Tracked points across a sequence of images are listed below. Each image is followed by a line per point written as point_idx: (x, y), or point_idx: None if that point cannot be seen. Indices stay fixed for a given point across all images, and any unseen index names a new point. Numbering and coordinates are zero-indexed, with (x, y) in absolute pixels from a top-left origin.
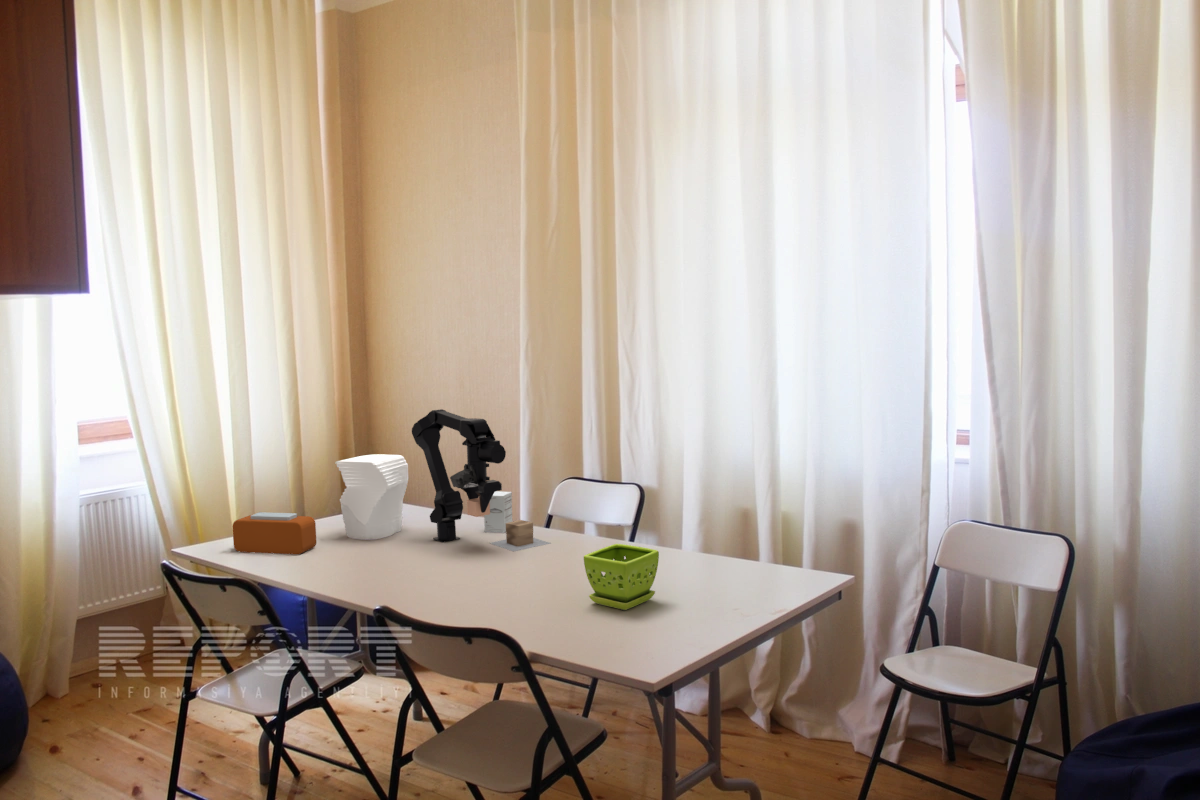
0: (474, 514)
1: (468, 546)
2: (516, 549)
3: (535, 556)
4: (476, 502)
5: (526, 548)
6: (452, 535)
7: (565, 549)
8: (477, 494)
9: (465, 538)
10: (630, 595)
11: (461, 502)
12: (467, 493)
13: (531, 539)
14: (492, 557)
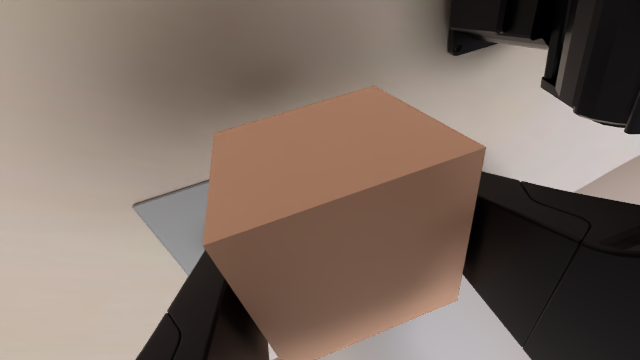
0: (242, 132)
1: (326, 52)
2: (163, 219)
3: (33, 264)
4: (216, 254)
5: (168, 250)
6: (465, 7)
7: (130, 334)
8: (507, 310)
9: (451, 82)
10: None
11: (633, 117)
12: (632, 224)
13: None
14: (41, 101)
